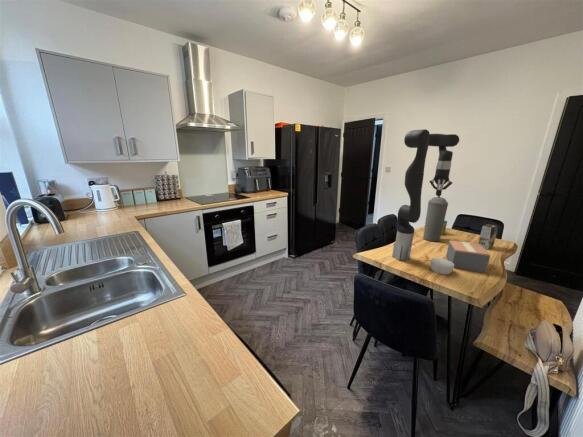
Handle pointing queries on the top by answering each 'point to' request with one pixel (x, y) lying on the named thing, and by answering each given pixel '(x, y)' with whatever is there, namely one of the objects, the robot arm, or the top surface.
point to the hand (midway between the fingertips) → (438, 195)
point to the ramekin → (441, 265)
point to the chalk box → (444, 228)
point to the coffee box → (488, 236)
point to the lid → (469, 248)
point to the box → (467, 260)
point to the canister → (435, 218)
